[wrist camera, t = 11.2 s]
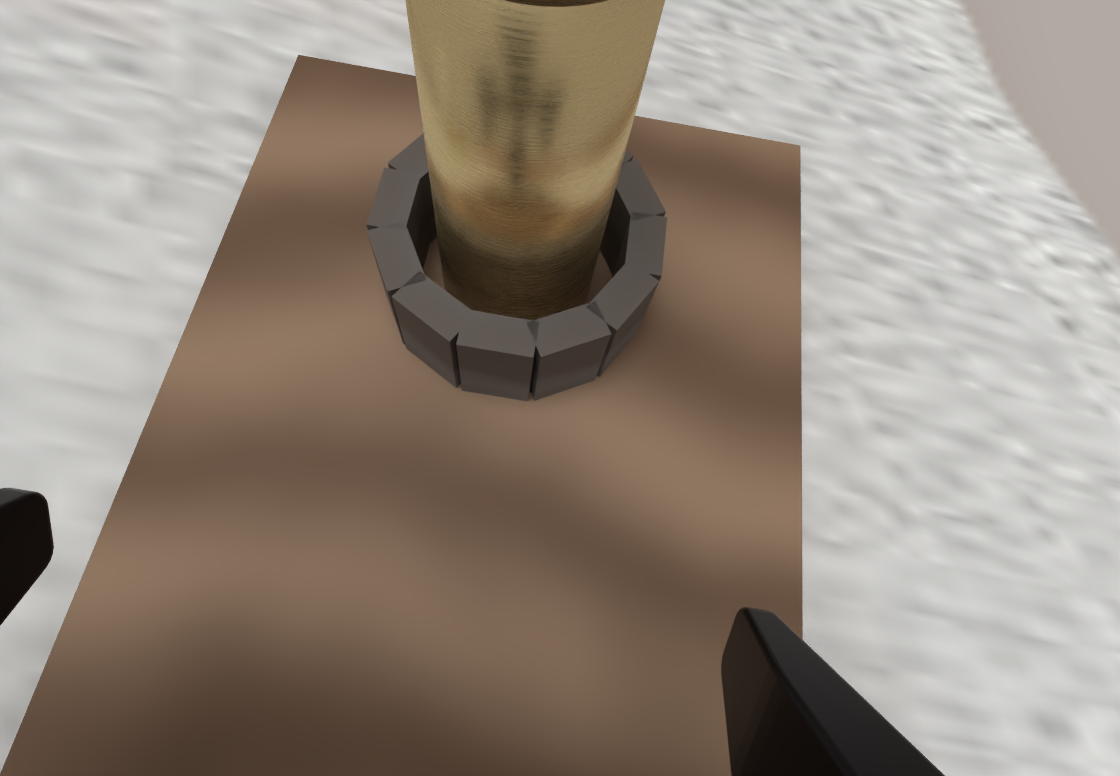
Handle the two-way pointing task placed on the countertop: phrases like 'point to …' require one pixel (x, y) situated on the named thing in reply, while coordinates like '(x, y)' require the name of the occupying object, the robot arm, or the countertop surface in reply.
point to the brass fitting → (526, 139)
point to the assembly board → (446, 480)
